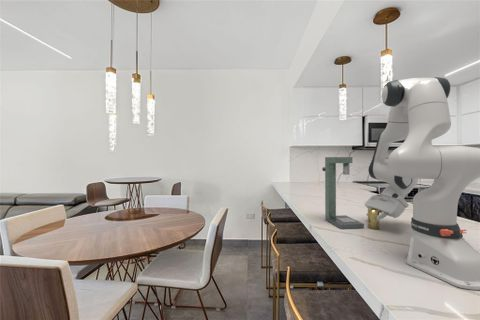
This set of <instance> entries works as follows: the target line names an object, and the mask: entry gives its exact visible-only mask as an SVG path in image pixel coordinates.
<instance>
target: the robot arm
mask: <svg viewBox="0 0 480 320" xmlns="http://www.w3.org/2000/svg"><path fill="white" fill-rule="evenodd" d="M450 92H451V82H450V81H449V79H447V78H445V77H437V76H434V77H411V78H405V79H404V78H403V79H399V80H398V79H395V80H394V79H393V80H391V81H390V80H389V81H388V82H386V84H385V85H384V86H383V88H382V91H381V99H382V104H384V105H385V106H387V107H390V109H389V112H388V119H387V124H386V127H385V129H384V130H382V131H381V132H380V134H379V135H378V138H377V141H376V144H375V149H374V152H373V155H372V160H371V161H370V163H369V166H368V168H367V169H368V174H369V176H370V178H372V179H374V180H378V181H382V182H384V183H387V184H388V185H387V186H386V187H385V188H384V189H383V190H382V192H380V194H375V195H374V194H373V195H372V196H370V197H369V198H368V199H367V200H366V201H365V202H364V206H365V207H366V208H367V210H368V209H369V208H374V209H377V210H379V215H377V216H376V217H375V219H376V220H378V221H379V222H380V221H381V220H382V219H384V218H386V217H387V216H388V217H391V218H394V219H396V218H399V217H400V216H401V215H402V214H403V213H404V211H405V210H406V208H408V207H409V206H410V204H409V203H408V202H407V201H406V199H405V197H406V196H407V195H408V194H410V193H411V191H412V190H413V189H414V188H415V186H416V185H417V183H418V182H419V179H420V180H422V179H423V180H424V179H425V180H433V183H432V184H431V186H429V187H428V188H425V189H422V190H420V191H417V193H416V194H415V195H414V196H413V198H412V217H411V221H410V224H411V225H410V227H411V229H412V232H411V236H410V239H409V247H408V252H407V255H406V261H405V263H406V264H407V265H409V266H411V267H413V268H416V269H417V270H419V271H422V272H424V273H425V274H428V275H430V276H432V277H435V278H437V279H440V280H441V281H444V282H446V283H447V284H450V285H453V286H454V287H457V288H460V289H465V290H476V291H477V290H478V291H480V252H478V251H477V250H476V249H475V248H474V246H472V245H471V244H470V243H469V241H467V240H466V239H465V238H464V234H467V232H466V231H467V229H466V228H464V229H461V227H460V225H459V224H458V221H457V220H458V205H459V200H460V197H461V195H462V193H463V192H464V190H465V189H466V188H467V187H468V186H469V184H471V183H472V182H473V181H476V180H477V179H479V178H480V148H479V147H474V146H466V145H433V144H432V141H433V140H434V139H437V138H439V137H441V136H444V135H445V134H446V133H448V131H449V130H450V128H451V127H452V121H451V116H450V115H451V114H450V109H449V103H448V97H449V96H450ZM400 141H403V142H402V143H401V144H400V145H399V146H398V147H397V148H394V150H392V151H391V153H390V154H389V155H388V159H387V160H386V158H387V154H388V152H389V148H390V145H391V144H393V143H395V142H400ZM366 216H367V217H368V212H367V213H366Z"/></svg>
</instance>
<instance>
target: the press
mask: <svg viewBox="0 0 480 320" xmlns="http://www.w3.org/2000/svg"><path fill="white" fill-rule="evenodd" d="M324 159H325V161H324V166H323V167H322V169H321V170H322V171H323V172H324V176H325V177H324V183H325V184H324V185H325V187H324V190H325V193H324V194H325V196H324V199H325V200H324V203H325V204H324V209H325V210H324V211H325V212H324V213H325V214H324V215H325V216H324V217H325V220H326V221H327V222H329V224H330V223H331V224H332V225H334V227H337V228H338V229H340V230H347V229H364V228H365V224H364V223H363V222H361V221H359V220H357V219H355V218H352V217H350V216H349V215H345V214H344V215H337V181H336V180H337V179H336V178H337V169H336V168H337V166H336V165H337V164H342V174H343V175H345V176H346V175H347V176H348V175H351V174H350V169H351V168H350V164H353V157H352V156H342V157H341V156H326V157H324Z"/></svg>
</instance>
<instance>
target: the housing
mask: <svg viewBox="0 0 480 320" xmlns="http://www.w3.org/2000/svg"><path fill="white" fill-rule="evenodd" d="M367 213H368V216H367V228H369V229H371V230H372V229H373V230H379V229H380V221H378V220H376V219H375V217H376V216H377V215H380V213H379V210H377V209H374V208H369V209H368V208H367Z"/></svg>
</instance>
